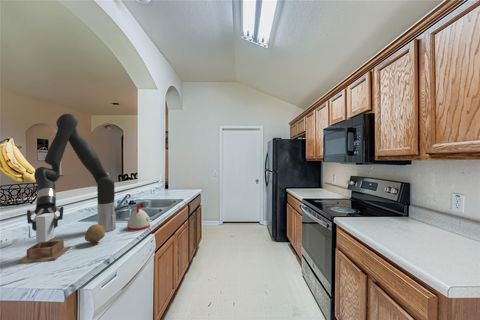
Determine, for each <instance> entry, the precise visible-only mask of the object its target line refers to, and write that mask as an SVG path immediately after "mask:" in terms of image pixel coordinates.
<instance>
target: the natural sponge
mask: <svg viewBox="0 0 480 320" xmlns="http://www.w3.org/2000/svg"><path fill="white" fill-rule="evenodd" d="M105 235H106V232H105V230H104V228H103V227H102V226H101V225H99V224H98V223H95V224H92V225H90V226H89V227H88V228H87V230H86V231H85V234H84V241H86V242H88V243H92V244H97V243H98V242H99V241H102V239H103V238H104V237H105Z"/></svg>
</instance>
